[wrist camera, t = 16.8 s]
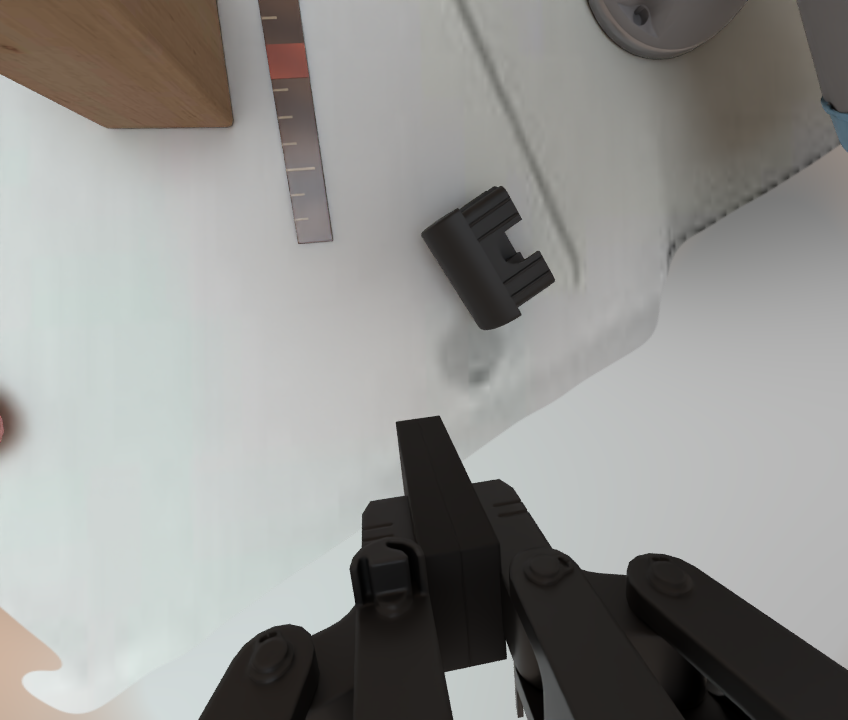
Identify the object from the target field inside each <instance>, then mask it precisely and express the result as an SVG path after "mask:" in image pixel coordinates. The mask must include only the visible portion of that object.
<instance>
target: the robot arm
mask: <svg viewBox="0 0 848 720" xmlns="http://www.w3.org/2000/svg"><path fill="white" fill-rule="evenodd" d="M747 1H748V0H588V2H589V5H590V7H591V10H592V12H593V14H594V16H595V18H596V19H597V21H598V23H599V24H600V26H601V27H602V29H603V30H604V31H605V33H606V34H607V35H608V36H609V37H610V38H611V39H612V40H613V41H614V42H615V43H616V44H618V45H619V46H620V47H622V48H623V49H625V50H627V51H628V52H630V53H633V54H635V55H637V56H641V57H644V58H650V59H667V58H672V57H676V56H679V55H683V54H685V53H687V52H689V51H691V50H693V49H694V48H696V47H698V46H699V45H701V44H702V43H704V42H705V41H707V40H709V39H710V38H712V37H713V36H714V35H716V34H717V33H718V32H720V31H721V30H722V29H723V28H724V27H725V26H726V25H727V24H728V23H729V22H730V21H731V20H732V19H733V18H734V17H735V15H736V14H737V13H738V12H739V11H740V9H741V8H742V7H743V6H744V4H745V3H746V2H747ZM797 4H798V7H799V11H800V15H801V18H802V22H803V26H804V29H805V33H806V37H807V40H808V44H809V48H810V51H811V55H812V58H813V62H814V66H815V69H816V73H817V77H818V80H819V84H820V88H821V91H822V98H821V104H822V107H823V109H824V110H825V111H826V113H828V114H829V115H830V116H831V119H832V122H833V124H834V127H835V130H836V133H837V135H838V138H839V141H840V143H841V145H842V146H843V148H844V149H845V150H846V151H847V152H848V0H797ZM396 428H397V437H398V445H399V453H400V461H401V470H402V478H403V486H404V494H405V496H400V497H394V498H388V499H382V500H375V501H370V503H369V504H368V506H367V507H366V509H365V511H364V512H363V514H362V548H361V549H360V550H359V551H358V552H357V553H356V555H355V556H354V557H353V559H352V563H351V565H350V574H351V580H352V586H353V592H354V598H355V606H354V607H353V608H352V610H351V611H350V612H349V613H348V614H347V615H346V616H345V617H344V618H342V619H341V620H340V621H339V622H337V623H336V624H334V625H332V626H330V627H328V628H327V629H324V630H322V631H320V632H318V633H316V634H314V635H312V636H311V634H310V633H308V632H307V631H306V630H305V629H304V628H303V627H300V626H295V625H291V624H287V625H281V626H275V627H272V628H270V629H268V630H266V631H263V632H261V633H259V634H257V635H256V636H255V637H254V638H252V639H251V640H250V641H249V642H247V643H246V644H245V645H244V646H243V647H242V649H241V650H240V651H239V652H238V654H237V655H236V656H235V658H234V659H233V660H232V662H231V664H230V665H229V667H228V669H227V671H226V672H225V674H224V676H223V678H222V679H221V681H220V683H219V685H218V686H217V688H216V690H215V692H214V693H213V695H212V697H211V699H210V700H209V702H208V704H207V705H206V707H205V709H204V711H203V712H202V715H201V716H200V718H199V720H453V716H452V711H451V706H450V700H449V695H448V690H447V684H446V679H445V674H444V672H448V671H452V670H457V669H462V668H467V667H471V666H476V665H481V664H486V663H490V662H495V661H500V660H505V659H507V653H506V642H507V644H508V647H509V650H510V652H511V655H512V658H513V660H514V676H515V695H516V708H517V715H518V718H519V717H523V708H524V710H525V713H526V716H527V719H528V720H848V670H847V669H845V668H844V667H842V666H841V665H839V664H838V663H836V662H835V661H833V660H832V659H830V658H829V657H827V656H826V655H825V654H823V653H822V652H820V651H819V650H817V649H816V648H814V647H813V646H811V645H810V644H808V643H807V642H805V641H804V640H803V639H801V638H800V637H798V636H797V635H795V634H794V633H792V632H791V631H789V630H788V629H786V628H785V627H783V626H782V625H780V624H779V623H777V622H776V621H774V620H773V619H771V618H770V617H768V616H767V615H765V614H764V613H762V612H761V611H760V610H758V609H757V608H755V607H754V606H752V605H751V604H749V603H748V602H746V601H745V600H744V599H742V598H740V597H739V596H738V595H736V594H735V593H733V592H732V591H730V590H729V589H727V588H726V587H724V586H723V585H721V584H720V583H718V582H717V581H715V580H714V579H712V578H711V577H710V576H708V575H706V574H705V573H704V572H702V571H701V570H699V569H698V568H696V567H695V566H693V565H691V564H689V563H687V562H685V561H683V560H681V559H679V558H676V557H672V556H669V555H665V554H653V553H648V554H644V555H639V556H637V557H635V558H634V559H633V560H632V561H630V562H629V565H628V568H627V575H617V574H603V573H595V572H588V571H585V570H582V569H580V567H579V566H578V565H577V564H576V562H574V560H572V559H571V558H570V557H569V556H568V555H566V554H564V553H562V552H560V551H558V550H555V549H552V547H551V546H550V544H549V543H548V541H547V540H546V538H545V536H544V535H543V533H542V532H541V530H540V529H539V527H538V526H537V524H536V523H535V521H534V519H533V518H532V517H531V515H530V513H529V512H527V509H526V507H525V506H524V504H523V503H522V502H521V499H520V498H519V496H518V495H517V494H516V492H515V490H514V489H513V488H512V487H511V486H509V485H508V484H506V483H505V482H503V481H501V480H500V479H497V480H490V481H484V482H478V483H471V481H470V479H469V477H468V475H467V472H466V471H465V468H464V466H463V464H462V462H461V460H460V458H459V456H458V453H457V451H456V449H455V447H454V445H453V443H452V441H451V439H450V437H449V434H448V432H447V430H446V428H445V426H444V424H443V422H442V420H441V418H440V416H433V417H426V418H419V419H412V420H405V421H398V422H396Z"/></svg>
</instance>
